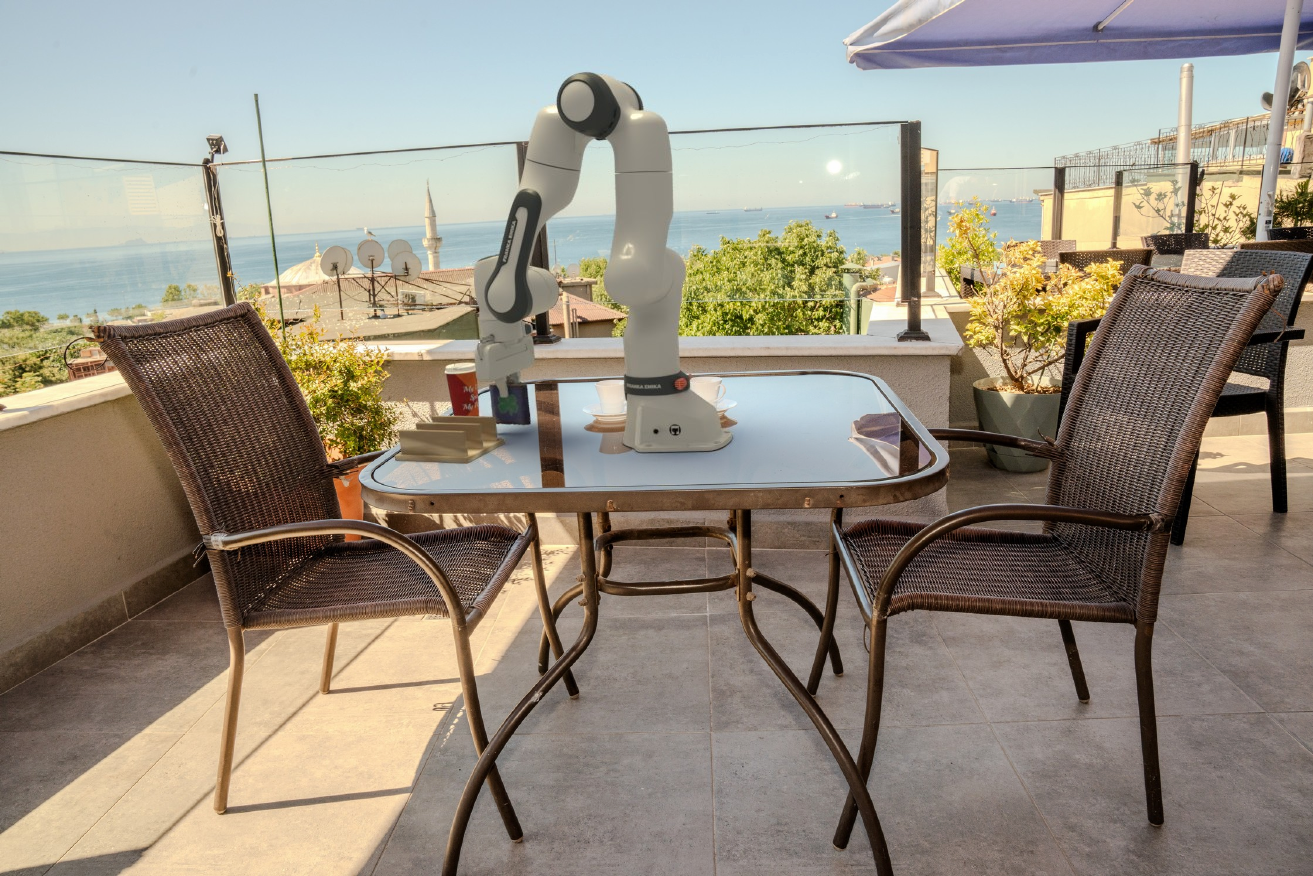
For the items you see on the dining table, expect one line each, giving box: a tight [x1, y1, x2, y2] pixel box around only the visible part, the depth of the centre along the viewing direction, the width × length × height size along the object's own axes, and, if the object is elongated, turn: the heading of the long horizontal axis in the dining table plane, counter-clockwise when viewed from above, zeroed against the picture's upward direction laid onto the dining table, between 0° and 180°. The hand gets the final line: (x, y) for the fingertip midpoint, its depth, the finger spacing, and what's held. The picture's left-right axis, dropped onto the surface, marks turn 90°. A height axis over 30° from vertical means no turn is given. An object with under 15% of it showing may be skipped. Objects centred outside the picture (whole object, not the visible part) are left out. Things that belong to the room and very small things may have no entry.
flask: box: [488, 375, 532, 426], centre depth 190 cm, size 9×3×11 cm, turn 70°
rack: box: [394, 414, 506, 464], centre depth 180 cm, size 15×17×6 cm
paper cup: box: [444, 362, 480, 416], centre depth 203 cm, size 8×8×14 cm
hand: (510, 394), depth 189 cm, fingers closed on flask, 3 cm apart
